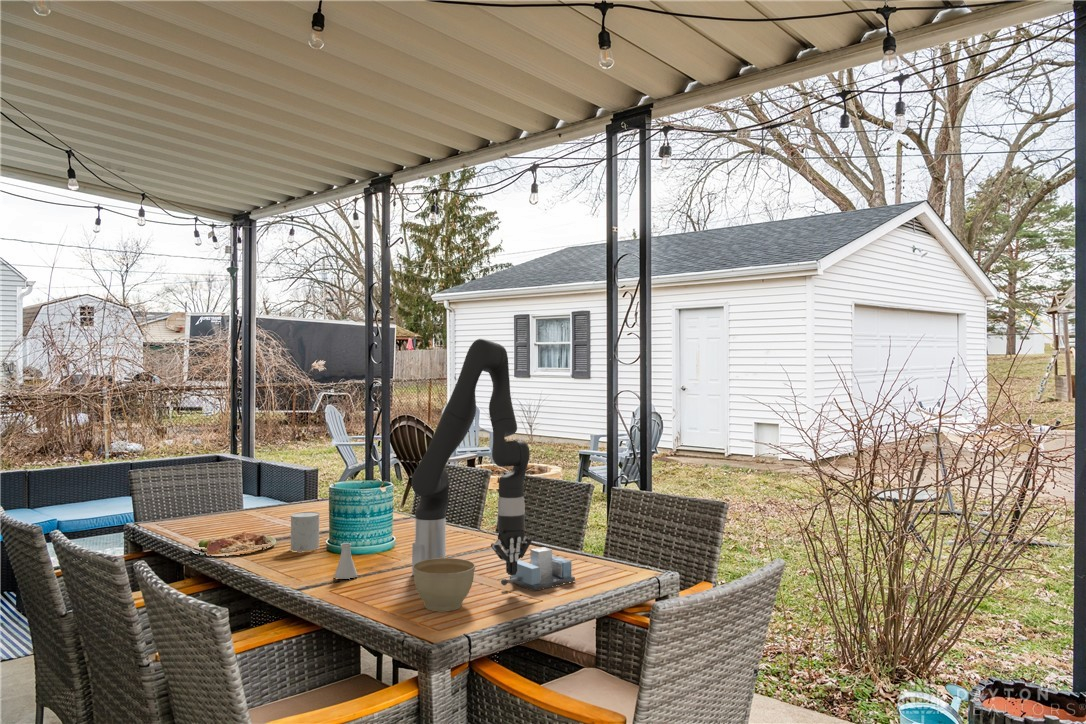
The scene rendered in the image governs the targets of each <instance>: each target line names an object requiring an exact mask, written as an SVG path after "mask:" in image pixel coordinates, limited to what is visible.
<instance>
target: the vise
mask: <svg viewBox="0 0 1086 724" xmlns="http://www.w3.org/2000/svg"><path fill="white" fill-rule="evenodd" d="M509 579H513V577H512V575H509ZM573 581H575V582H576V577H575V576H574V575H572V561H571V560H569V559H567V558H562V557H559V556H556V555H553V554H552V577H550V578H545V579H541V582H540V583H538V584H534V585H531V584H528V583H526V582H523V581H516V582H512V583H513V584H515V585H517V586H519V585H520V587H522V588H524V587H525V589H527V588H528V589H527V590H529V589H531V590H530V591H532V590H533V592H535V590H537V591H540V590H539V589H542V590H544V589H543V588H546V589H549V588H548V587H551V588H553V587H552V586H556V585H560V584H563V583H569V582H573ZM569 584H570V583H569ZM560 586H561V585H560ZM556 587H557V586H556Z"/></svg>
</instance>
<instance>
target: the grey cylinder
mask: <svg viewBox="0 0 1086 724" xmlns="http://www.w3.org/2000/svg"><path fill="white" fill-rule="evenodd" d="M317 548H319V549H320V513H319V512H317V511H303V512H302V511H301V512H295V513H292V514H291V515H290V550H293V551H297V552H302V551H310V550H314V549H317Z"/></svg>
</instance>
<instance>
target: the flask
mask: <svg viewBox="0 0 1086 724" xmlns="http://www.w3.org/2000/svg"><path fill="white" fill-rule="evenodd" d="M351 546H352V543H350V542H343V543H341V544H340V548H341V551H340V552H341V553H340V557H339V561H338V563H337V564H338V565H337V567H336V569H335V572H334V576H333V578H334V577H335V578H338V579H349V580H351V579H350V578H353V577H357V578H358V576H357V574H358V572H357V569H356V567H355V563H354V560H353V558H352V553H351Z"/></svg>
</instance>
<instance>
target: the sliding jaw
mask: <svg viewBox="0 0 1086 724" xmlns="http://www.w3.org/2000/svg"><path fill="white" fill-rule="evenodd" d="M511 576H512V577H513V579H510V578H509V579H506V578H502V579H500V580H501V582H500V584H501V585H502V586H506V585H508V584H510V583H512V582H516V581H523V582H526V583H528V584H531V585H534V584H538V583H540V582H541V567H538V566H535V565H533V564H530V563H529V562H526V561H523V560H521V559H518V561H517V572H516V575H511Z"/></svg>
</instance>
